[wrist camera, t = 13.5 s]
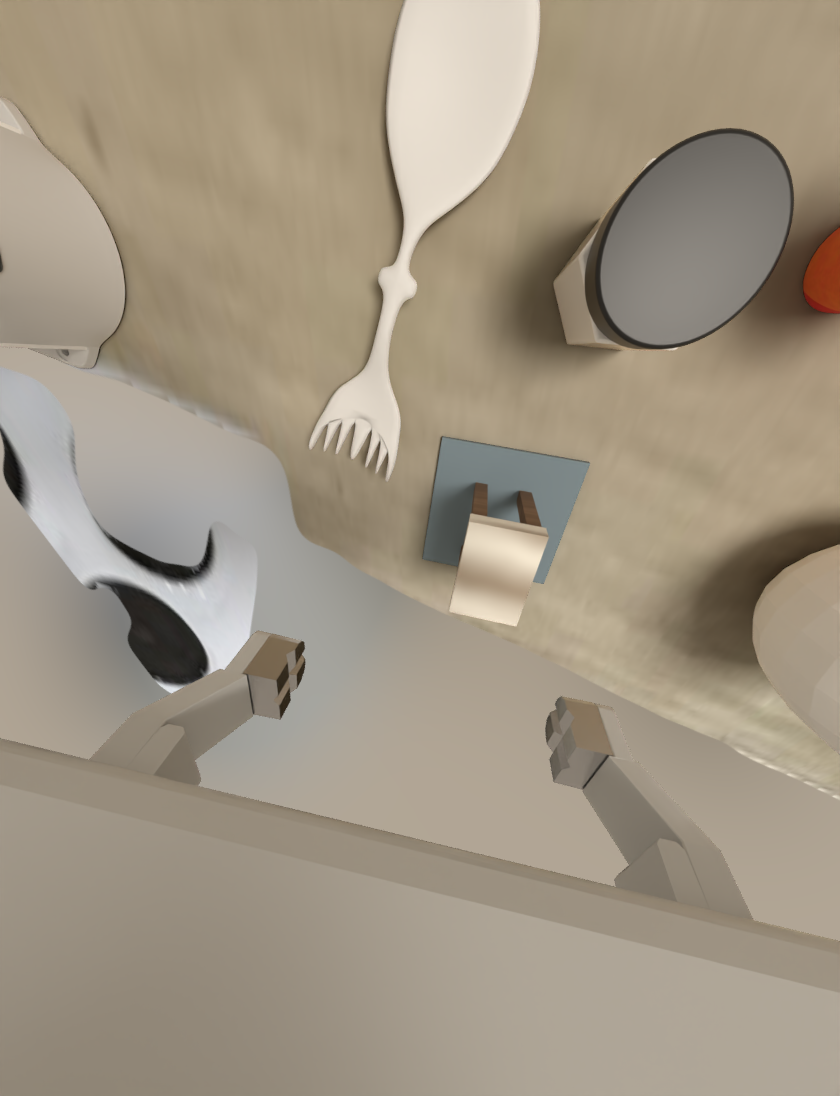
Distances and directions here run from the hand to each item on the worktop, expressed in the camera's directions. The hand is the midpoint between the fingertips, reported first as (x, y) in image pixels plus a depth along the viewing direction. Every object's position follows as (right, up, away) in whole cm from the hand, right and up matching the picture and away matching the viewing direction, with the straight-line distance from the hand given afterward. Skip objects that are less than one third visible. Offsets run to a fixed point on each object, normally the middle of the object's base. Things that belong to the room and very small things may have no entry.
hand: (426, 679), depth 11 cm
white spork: (-1, +26, +18) cm, 32 cm away
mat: (+8, +8, +26) cm, 28 cm away
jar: (+14, +24, +16) cm, 32 cm away
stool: (+8, +7, +26) cm, 28 cm away
